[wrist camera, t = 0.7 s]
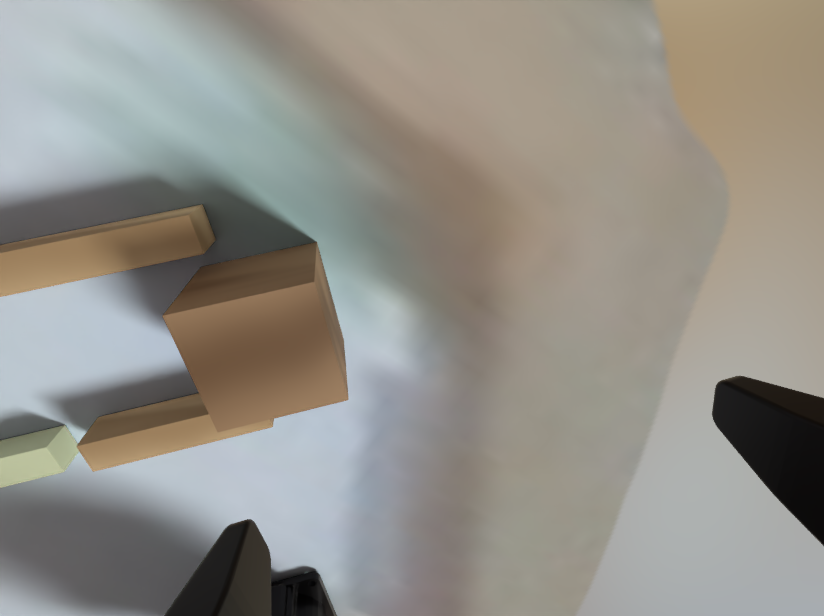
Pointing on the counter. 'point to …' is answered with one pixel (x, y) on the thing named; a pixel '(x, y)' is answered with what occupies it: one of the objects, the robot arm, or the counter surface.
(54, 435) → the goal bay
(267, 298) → the walnut block
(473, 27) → the counter surface
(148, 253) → the tunnel walls
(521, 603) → the counter surface
